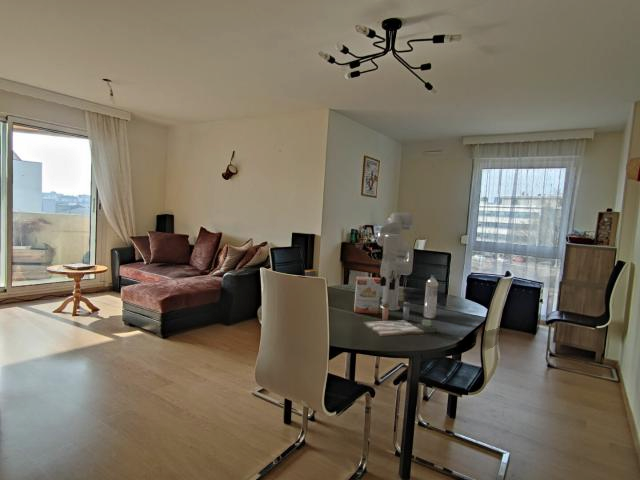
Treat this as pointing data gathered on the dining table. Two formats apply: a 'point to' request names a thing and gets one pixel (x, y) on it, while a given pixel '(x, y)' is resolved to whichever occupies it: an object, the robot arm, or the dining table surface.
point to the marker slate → (406, 311)
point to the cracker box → (367, 295)
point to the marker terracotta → (385, 311)
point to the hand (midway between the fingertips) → (387, 287)
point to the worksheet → (393, 328)
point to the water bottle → (430, 298)
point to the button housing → (426, 328)
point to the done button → (426, 323)
